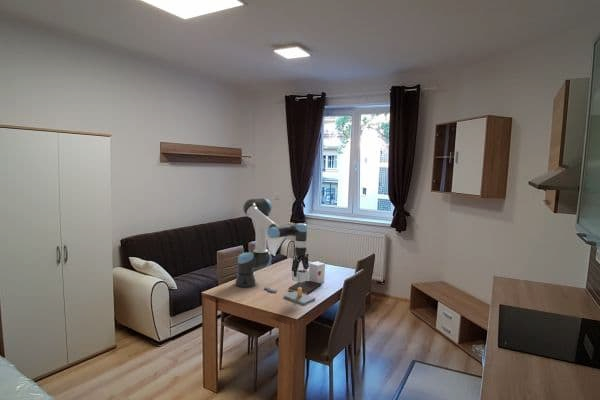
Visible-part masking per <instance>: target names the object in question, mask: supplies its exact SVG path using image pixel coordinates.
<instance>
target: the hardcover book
mask: <svg viewBox="0 0 600 400" xmlns="http://www.w3.org/2000/svg"><path fill="white" fill-rule="evenodd" d="M321 286H322V283H317V282H312V281H309V280H307V281H304V282H296V283H295V284H293V285H291V286H290V287H288V288H287V289H288V291H289V292H295V291H296V292H297V289H298V288H299V287H300V288H302V294H305V295H308V296H309V295H310V294H311V293H313V292H314V291H315V290H317V289H318V288H320V287H321Z"/></svg>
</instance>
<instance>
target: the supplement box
mask: <svg viewBox="0 0 600 400" xmlns="http://www.w3.org/2000/svg"><path fill="white" fill-rule="evenodd" d="M325 268H326V264H325V263H324V262H320V261H318V260H317V261H313V262H309V267H308V271H309V280H308V281H312V282H317V283H321V284H322V283H324V282H325V274H326V272H325Z"/></svg>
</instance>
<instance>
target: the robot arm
mask: <svg viewBox="0 0 600 400" xmlns="http://www.w3.org/2000/svg"><path fill="white" fill-rule="evenodd" d="M242 211H243V213H244V214H245V216H247V217H248V218H251V219H253V221H254V222H255V248H254V249H253V252H250V251H249V252H243V253H240V254H239V255H238V257H237V276H236V279H235V283H234V284H235V286H236V287H237V288H251V287H254V286H256V283H257V281H256V279H255V275H254V270H257V269H263V268H264V269H265V268H266V267H269V266H270V265H271V263H272V254H271V252H269V249H267V241H268V240H267V238H269V239H278V238H285V237H295V242H294V243H295V244H294V246H295V249H294V251H295V255H294V256H292V263H291V264H292V265H291V272H292V271H294V280H293V282H294V281H295V282H296V283H298V272H297V270H298V269H299V267H300V263H301V264H302V270H306V271H308V270H309V264H310V262H309V253H308V252H307V236H308V233H307V232H308V226H307V224H306V223H303V222H302V223H301V222H299V223H296V224H295V225H294V224H292V223H286V224H284V225H278V224H277V223H276V222H275V221H273V220H272V219H270V218H269V217H270V213H271V212H272V211H273V205H272V202H271V201H270V200H269V199H268V198H263V197H262V198H250V199H248V200H246V201H245V202H244V204H243V205H242ZM267 236H268V237H267Z"/></svg>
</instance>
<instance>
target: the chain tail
mask: <svg viewBox="0 0 600 400" xmlns="http://www.w3.org/2000/svg"><path fill="white" fill-rule="evenodd" d="M263 290H264V291H265V290H266V291H267V292H269V293H275V294H276V293H278V290H276V289H272V288H271V287H267V286H266V287H264V288H263Z"/></svg>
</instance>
